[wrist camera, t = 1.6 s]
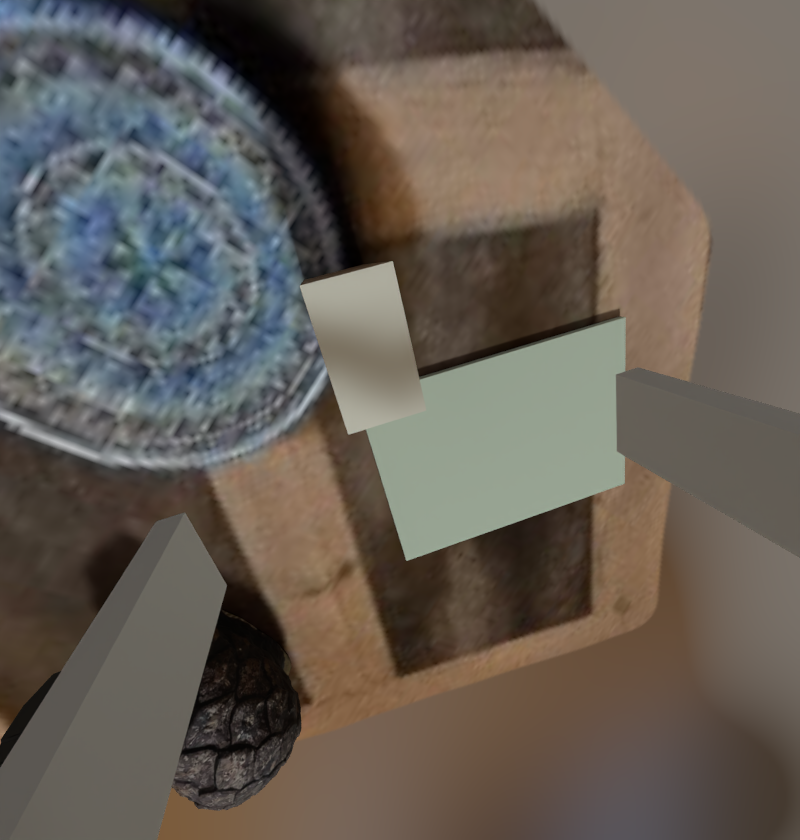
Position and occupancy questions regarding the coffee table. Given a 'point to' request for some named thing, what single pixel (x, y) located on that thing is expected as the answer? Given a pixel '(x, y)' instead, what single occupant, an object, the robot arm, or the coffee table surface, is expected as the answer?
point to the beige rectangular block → (365, 344)
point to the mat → (505, 438)
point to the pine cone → (238, 718)
